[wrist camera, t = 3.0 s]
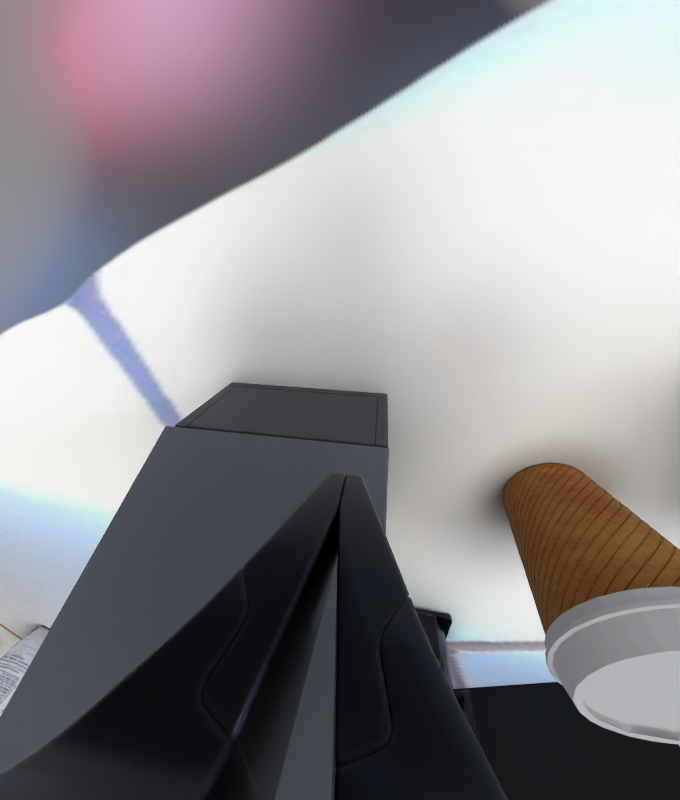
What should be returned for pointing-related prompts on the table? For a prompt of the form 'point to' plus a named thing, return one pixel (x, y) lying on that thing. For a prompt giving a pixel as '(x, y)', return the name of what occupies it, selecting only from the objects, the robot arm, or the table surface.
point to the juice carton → (18, 664)
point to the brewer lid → (189, 582)
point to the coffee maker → (566, 749)
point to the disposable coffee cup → (601, 599)
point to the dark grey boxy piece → (295, 414)
